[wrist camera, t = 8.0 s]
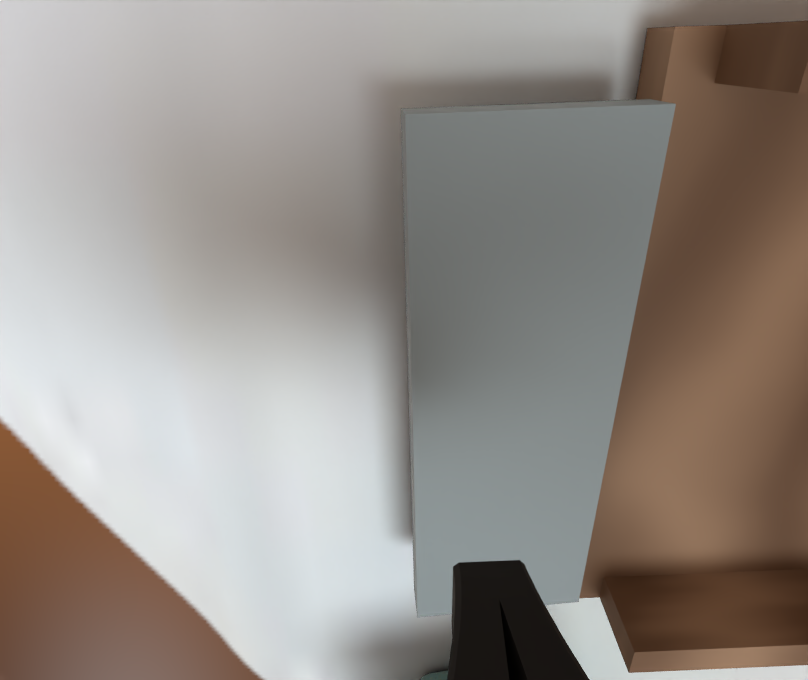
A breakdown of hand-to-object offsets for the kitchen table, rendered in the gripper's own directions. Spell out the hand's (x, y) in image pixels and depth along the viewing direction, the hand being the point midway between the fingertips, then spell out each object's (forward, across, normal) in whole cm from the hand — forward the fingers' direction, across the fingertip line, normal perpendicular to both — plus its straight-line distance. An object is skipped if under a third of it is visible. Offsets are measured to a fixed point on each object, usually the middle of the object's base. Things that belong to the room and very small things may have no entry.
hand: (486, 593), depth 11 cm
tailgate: (+7, -5, 0) cm, 8 cm away
